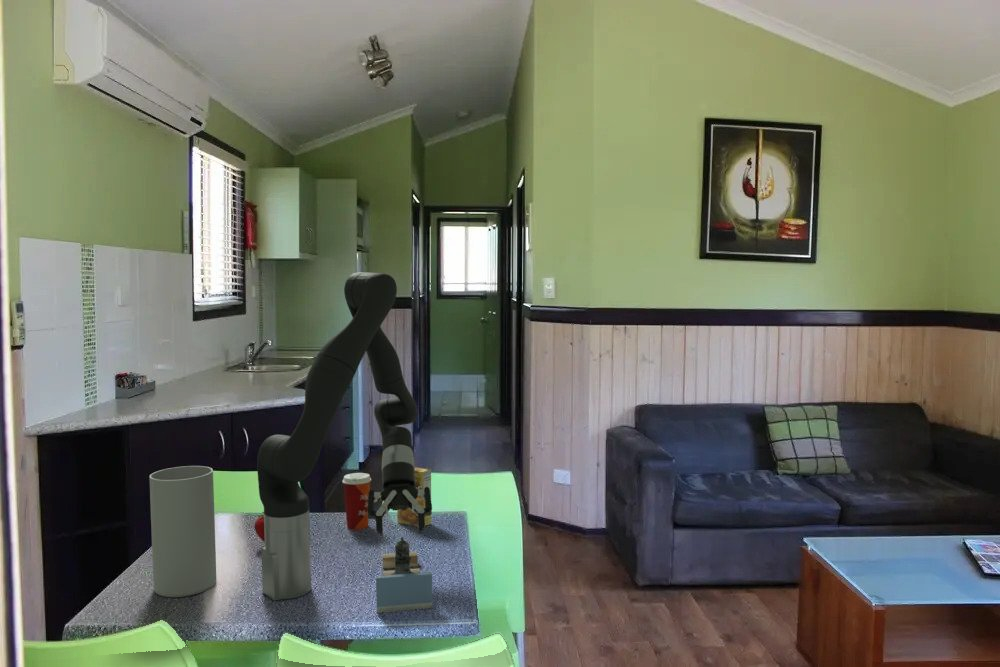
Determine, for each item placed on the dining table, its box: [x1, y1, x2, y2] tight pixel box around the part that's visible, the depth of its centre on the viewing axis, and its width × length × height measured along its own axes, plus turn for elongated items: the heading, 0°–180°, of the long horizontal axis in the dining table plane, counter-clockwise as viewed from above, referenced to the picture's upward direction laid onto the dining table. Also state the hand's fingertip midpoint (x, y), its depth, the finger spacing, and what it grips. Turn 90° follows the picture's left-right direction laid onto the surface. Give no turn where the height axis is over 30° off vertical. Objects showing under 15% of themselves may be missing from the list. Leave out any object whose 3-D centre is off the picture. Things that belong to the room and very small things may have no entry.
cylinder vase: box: [149, 465, 217, 598], centre depth 157 cm, size 12×12×25 cm
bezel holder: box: [375, 571, 433, 614], centre depth 149 cm, size 10×11×7 cm
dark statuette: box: [391, 536, 413, 575], centre depth 149 cm, size 6×6×12 cm
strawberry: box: [254, 511, 265, 543], centre depth 182 cm, size 6×8×10 cm
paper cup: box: [341, 472, 372, 531], centre depth 196 cm, size 8×8×14 cm
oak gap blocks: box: [381, 551, 422, 575], centre depth 163 cm, size 13×8×2 cm, turn 10°
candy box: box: [396, 466, 432, 527], centre depth 198 cm, size 9×4×15 cm, turn 62°
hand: (400, 533), depth 159 cm, fingers open, 8 cm apart
